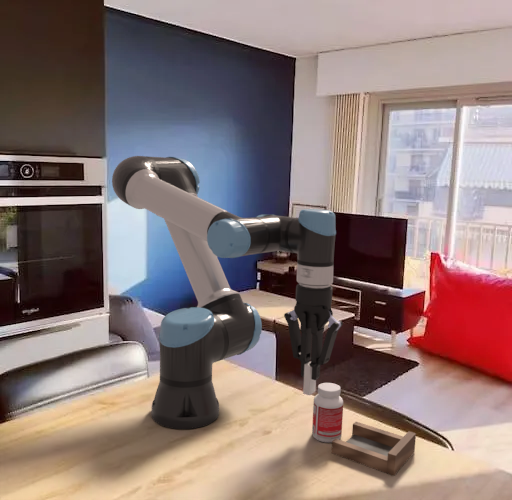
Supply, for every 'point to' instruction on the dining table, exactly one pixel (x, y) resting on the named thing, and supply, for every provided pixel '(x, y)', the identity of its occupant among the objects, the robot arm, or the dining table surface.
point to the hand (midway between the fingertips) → (309, 392)
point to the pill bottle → (327, 413)
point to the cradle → (376, 448)
